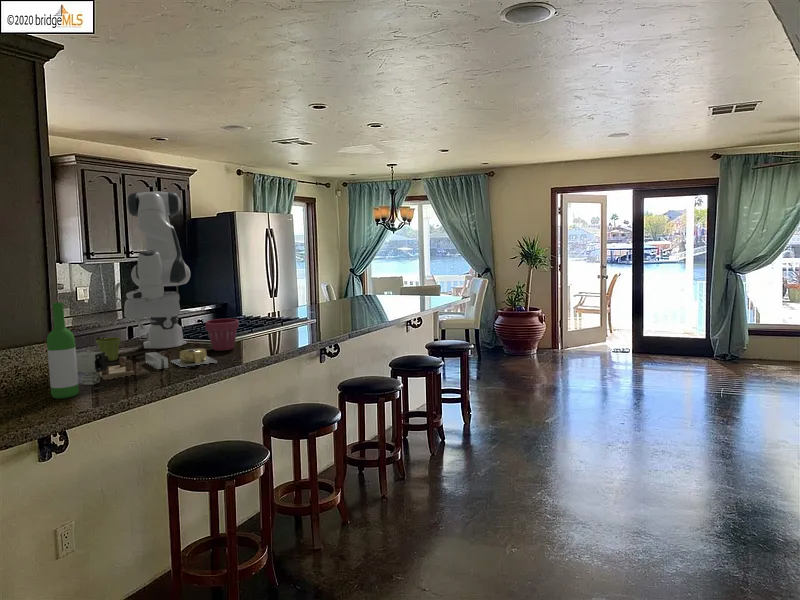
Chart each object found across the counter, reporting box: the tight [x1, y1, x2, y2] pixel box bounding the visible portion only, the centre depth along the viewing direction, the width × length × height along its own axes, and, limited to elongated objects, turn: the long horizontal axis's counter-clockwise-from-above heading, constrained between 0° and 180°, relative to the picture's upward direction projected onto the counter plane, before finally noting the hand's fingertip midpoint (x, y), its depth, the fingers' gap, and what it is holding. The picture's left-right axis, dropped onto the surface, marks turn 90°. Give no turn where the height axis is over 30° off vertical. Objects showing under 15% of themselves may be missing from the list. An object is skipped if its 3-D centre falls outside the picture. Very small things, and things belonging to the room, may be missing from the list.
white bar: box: [144, 351, 169, 370], centre depth 232 cm, size 18×4×4 cm, turn 36°
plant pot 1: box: [95, 337, 122, 362], centre depth 246 cm, size 9×9×9 cm
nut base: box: [170, 355, 218, 368], centre depth 236 cm, size 14×14×1 cm
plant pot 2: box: [204, 318, 240, 352], centre depth 265 cm, size 14×14×13 cm
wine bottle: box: [46, 301, 80, 400], centre depth 187 cm, size 8×8×30 cm
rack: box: [95, 356, 135, 381], centre depth 219 cm, size 16×10×5 cm, turn 36°
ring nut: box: [179, 348, 208, 363], centre depth 234 cm, size 14×10×4 cm
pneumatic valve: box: [76, 349, 110, 386], centre depth 203 cm, size 6×12×12 cm, turn 84°
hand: (153, 327), depth 231 cm, fingers open, 8 cm apart
